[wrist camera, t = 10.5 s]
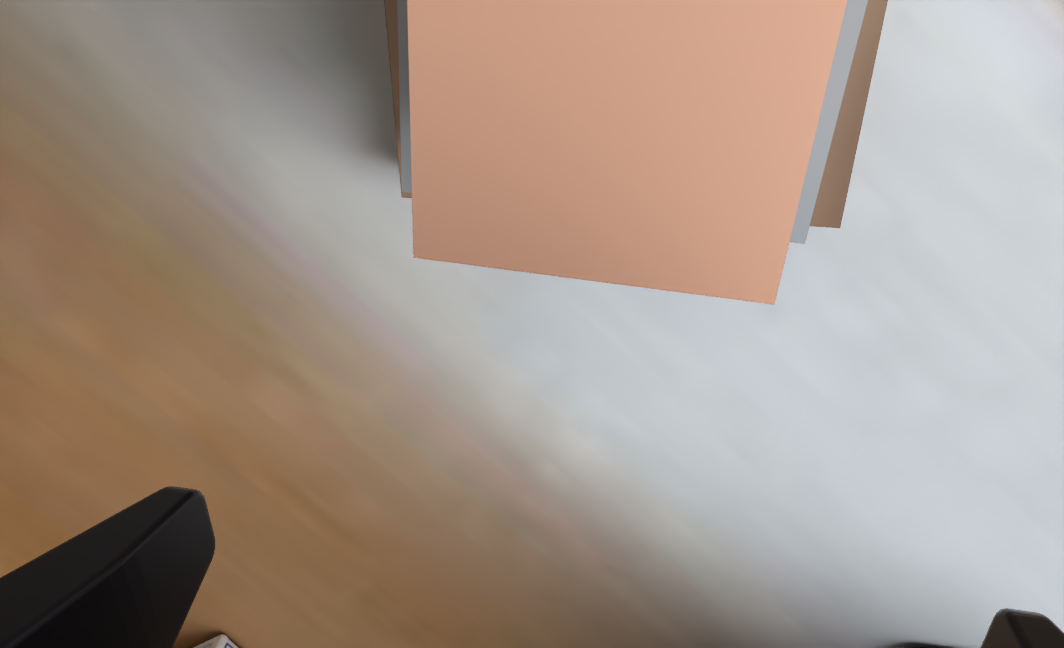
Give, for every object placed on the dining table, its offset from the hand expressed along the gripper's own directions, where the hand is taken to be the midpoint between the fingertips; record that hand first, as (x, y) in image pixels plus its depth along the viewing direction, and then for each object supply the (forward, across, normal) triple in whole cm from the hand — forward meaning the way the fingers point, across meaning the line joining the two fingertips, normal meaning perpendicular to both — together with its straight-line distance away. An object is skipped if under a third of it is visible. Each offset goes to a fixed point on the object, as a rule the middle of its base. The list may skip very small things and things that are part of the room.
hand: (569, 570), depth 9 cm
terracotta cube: (+8, 0, -4) cm, 10 cm away
